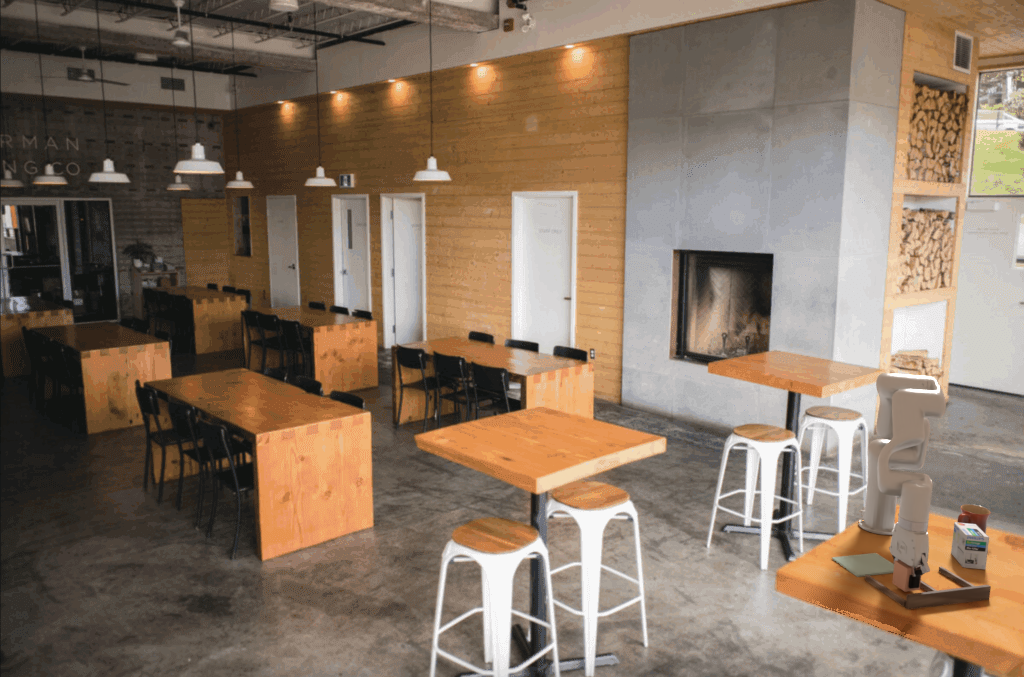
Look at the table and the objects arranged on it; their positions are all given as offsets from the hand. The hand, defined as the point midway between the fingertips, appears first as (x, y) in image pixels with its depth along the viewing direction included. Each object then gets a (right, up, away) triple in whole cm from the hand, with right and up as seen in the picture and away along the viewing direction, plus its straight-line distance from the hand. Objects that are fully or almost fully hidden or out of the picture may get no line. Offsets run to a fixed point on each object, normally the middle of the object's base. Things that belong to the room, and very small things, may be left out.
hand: (906, 582), depth 218 cm
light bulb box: (+30, 0, +20) cm, 36 cm away
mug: (+40, +3, +36) cm, 54 cm away
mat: (-4, 0, +16) cm, 16 cm away
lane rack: (+6, -2, +2) cm, 7 cm away
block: (0, -1, 0) cm, 1 cm away
